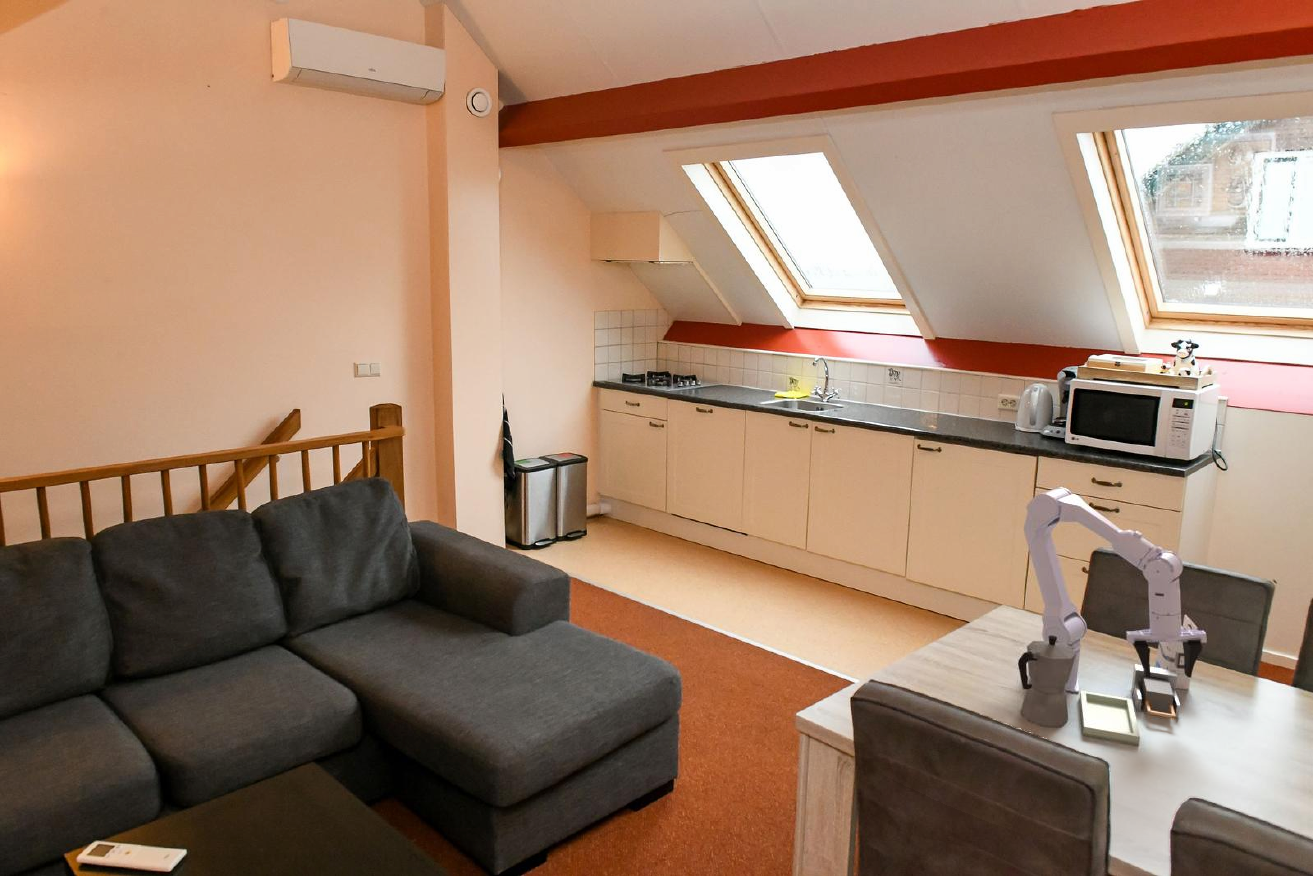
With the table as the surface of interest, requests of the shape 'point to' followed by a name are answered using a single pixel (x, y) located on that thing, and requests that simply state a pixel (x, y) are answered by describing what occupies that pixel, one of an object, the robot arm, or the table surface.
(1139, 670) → the steel bay
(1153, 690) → the orange handle block
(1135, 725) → the green tray
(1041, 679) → the coffeepot
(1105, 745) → the table surface
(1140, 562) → the robot arm
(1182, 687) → the ink box
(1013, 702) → the table surface
